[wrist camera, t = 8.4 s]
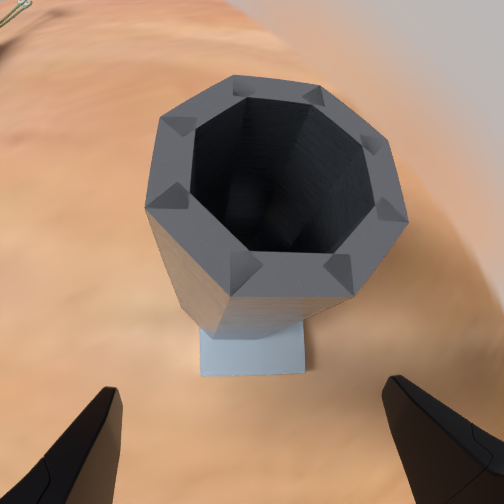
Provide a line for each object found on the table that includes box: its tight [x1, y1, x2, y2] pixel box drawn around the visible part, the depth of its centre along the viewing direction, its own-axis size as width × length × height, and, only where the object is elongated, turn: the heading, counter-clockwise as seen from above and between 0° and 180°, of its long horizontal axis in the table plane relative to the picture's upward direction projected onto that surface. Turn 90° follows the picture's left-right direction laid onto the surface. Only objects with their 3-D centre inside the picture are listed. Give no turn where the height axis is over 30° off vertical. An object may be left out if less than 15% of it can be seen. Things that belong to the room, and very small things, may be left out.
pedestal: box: [200, 320, 305, 376], centre depth 18 cm, size 11×6×3 cm, turn 2°
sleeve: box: [145, 75, 409, 340], centre depth 13 cm, size 6×6×12 cm
